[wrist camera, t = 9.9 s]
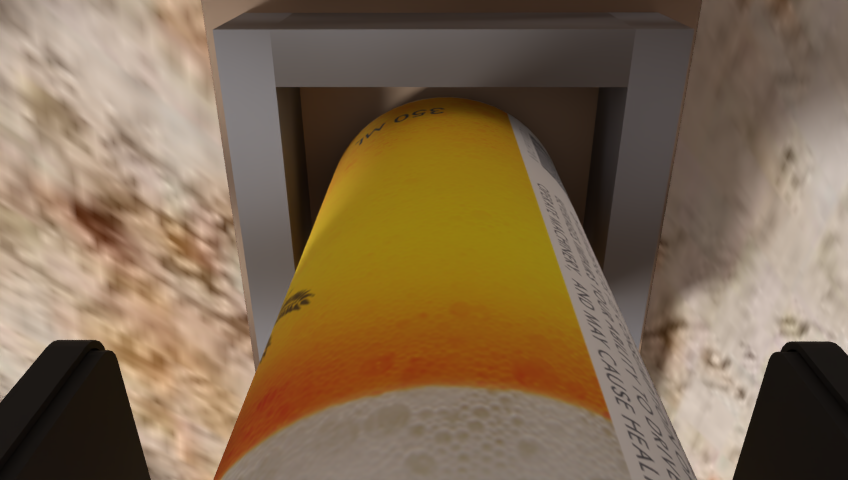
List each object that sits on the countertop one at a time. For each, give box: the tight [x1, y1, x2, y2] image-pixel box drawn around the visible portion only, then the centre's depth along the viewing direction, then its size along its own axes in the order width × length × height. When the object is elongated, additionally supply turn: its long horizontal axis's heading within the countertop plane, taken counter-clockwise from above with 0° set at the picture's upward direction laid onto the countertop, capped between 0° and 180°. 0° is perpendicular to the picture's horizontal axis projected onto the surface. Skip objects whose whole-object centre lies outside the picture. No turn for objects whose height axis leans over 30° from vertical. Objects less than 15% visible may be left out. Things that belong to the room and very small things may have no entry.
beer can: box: [214, 97, 697, 480], centre depth 11 cm, size 6×6×15 cm
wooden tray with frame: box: [201, 0, 702, 371], centre depth 18 cm, size 20×12×4 cm, turn 0°
